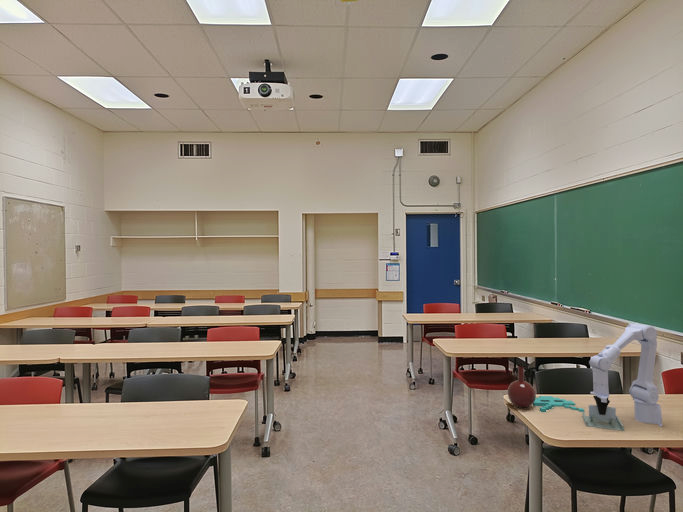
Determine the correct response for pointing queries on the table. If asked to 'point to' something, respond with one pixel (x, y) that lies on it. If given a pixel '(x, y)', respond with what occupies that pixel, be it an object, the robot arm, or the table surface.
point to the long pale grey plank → (607, 417)
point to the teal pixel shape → (554, 403)
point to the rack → (603, 423)
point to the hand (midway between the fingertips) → (601, 414)
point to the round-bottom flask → (521, 391)
